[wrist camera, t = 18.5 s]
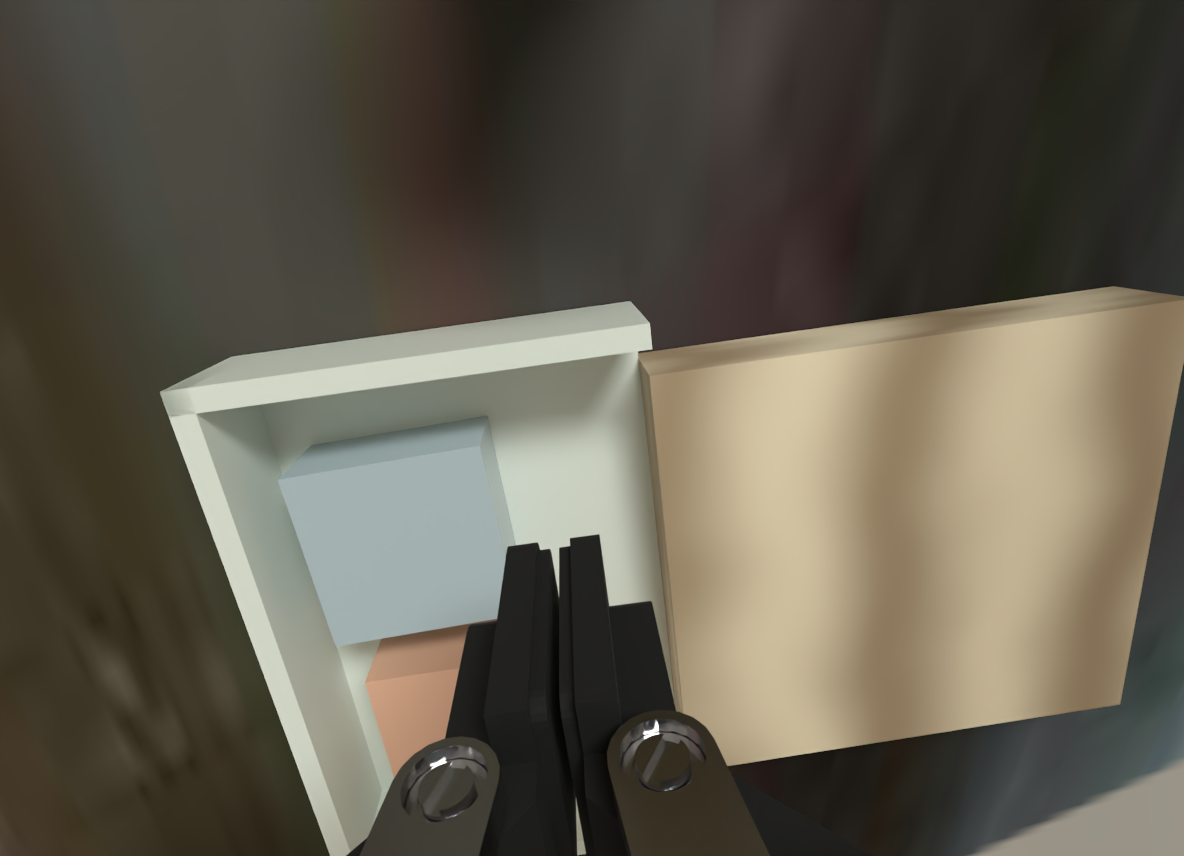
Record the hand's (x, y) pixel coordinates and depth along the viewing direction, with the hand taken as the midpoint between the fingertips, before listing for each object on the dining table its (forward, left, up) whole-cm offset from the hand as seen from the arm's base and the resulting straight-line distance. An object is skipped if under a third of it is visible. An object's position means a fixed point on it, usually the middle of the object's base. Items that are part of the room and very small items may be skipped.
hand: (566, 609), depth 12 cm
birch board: (-10, +4, -8) cm, 13 cm away
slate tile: (+4, +1, -6) cm, 8 cm away
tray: (+3, +4, -8) cm, 9 cm away
